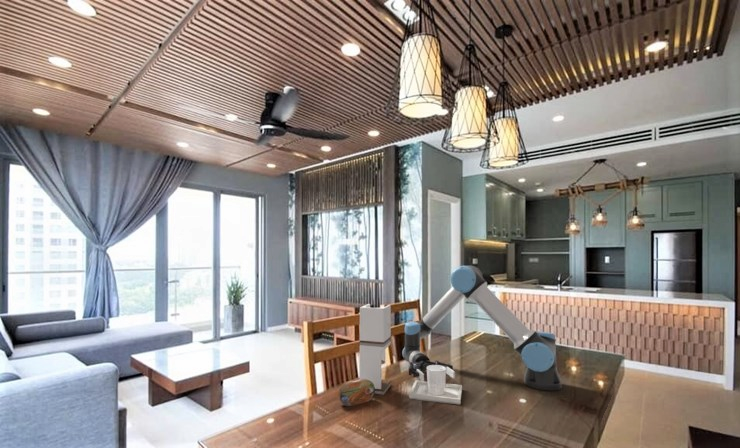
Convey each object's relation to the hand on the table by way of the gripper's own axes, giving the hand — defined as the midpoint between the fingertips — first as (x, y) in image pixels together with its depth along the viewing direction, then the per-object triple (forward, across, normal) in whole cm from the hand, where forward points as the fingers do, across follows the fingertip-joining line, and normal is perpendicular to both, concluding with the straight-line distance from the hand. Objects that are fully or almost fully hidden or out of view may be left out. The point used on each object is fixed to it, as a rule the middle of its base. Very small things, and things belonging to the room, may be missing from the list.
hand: (438, 376), depth 149 cm
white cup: (-3, 0, -8) cm, 8 cm away
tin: (-2, +34, -8) cm, 35 cm away
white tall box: (-15, +23, -8) cm, 29 cm away
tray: (-3, 0, -8) cm, 9 cm away
